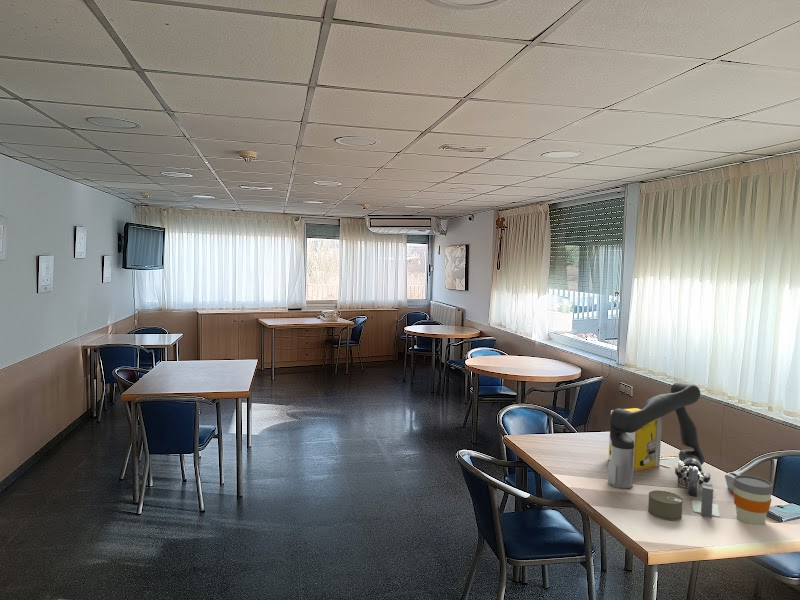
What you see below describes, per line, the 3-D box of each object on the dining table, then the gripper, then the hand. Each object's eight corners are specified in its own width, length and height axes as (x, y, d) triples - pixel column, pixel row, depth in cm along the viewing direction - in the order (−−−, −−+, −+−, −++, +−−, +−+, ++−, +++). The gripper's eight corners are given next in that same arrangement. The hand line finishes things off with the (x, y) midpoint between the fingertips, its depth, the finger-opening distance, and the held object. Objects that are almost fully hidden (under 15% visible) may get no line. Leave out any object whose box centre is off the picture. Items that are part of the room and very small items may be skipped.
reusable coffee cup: (756, 529, 192) (759, 489, 191) (723, 515, 204) (726, 477, 203) (778, 524, 197) (780, 485, 196) (744, 510, 209) (747, 473, 208)
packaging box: (659, 467, 254) (662, 416, 253) (633, 471, 248) (636, 418, 247) (633, 455, 269) (635, 407, 268) (608, 459, 263) (610, 410, 262)
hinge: (763, 505, 214) (756, 482, 213) (752, 508, 214) (745, 485, 214) (739, 488, 230) (732, 466, 230) (728, 491, 231) (721, 470, 230)
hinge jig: (692, 500, 216) (693, 474, 216) (717, 505, 212) (719, 478, 212) (693, 513, 204) (694, 486, 203) (720, 519, 200) (721, 491, 199)
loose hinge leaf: (696, 492, 225) (697, 467, 224) (696, 497, 219) (698, 471, 219) (687, 490, 226) (688, 465, 226) (687, 495, 221) (689, 470, 220)
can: (651, 504, 212) (652, 487, 211) (685, 513, 204) (686, 496, 204) (644, 514, 203) (644, 497, 202) (678, 524, 195) (679, 506, 195)
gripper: (674, 457, 239) (674, 469, 224) (711, 463, 232) (713, 475, 217) (673, 473, 239) (673, 486, 224) (710, 479, 233) (712, 493, 218)
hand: (693, 481), depth 221 cm, fingers open, 5 cm apart
